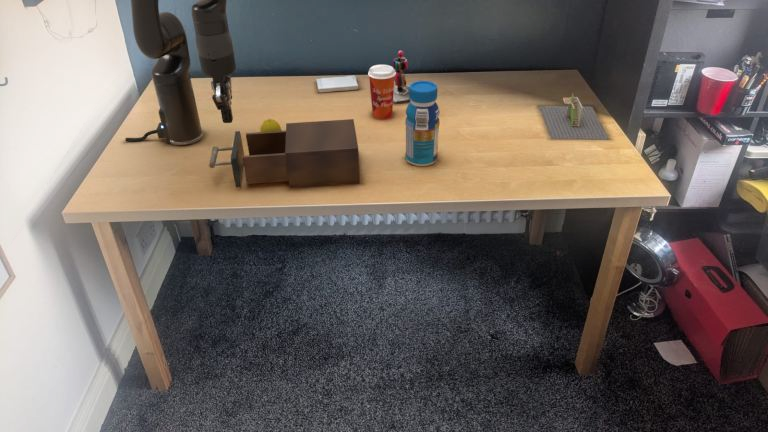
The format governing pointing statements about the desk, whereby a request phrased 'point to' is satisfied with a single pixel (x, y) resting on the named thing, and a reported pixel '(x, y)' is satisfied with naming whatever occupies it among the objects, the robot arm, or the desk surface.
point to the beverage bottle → (422, 124)
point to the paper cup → (382, 90)
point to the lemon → (270, 126)
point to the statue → (400, 80)
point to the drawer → (256, 157)
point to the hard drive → (337, 84)
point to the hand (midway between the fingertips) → (228, 121)
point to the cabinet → (322, 153)
